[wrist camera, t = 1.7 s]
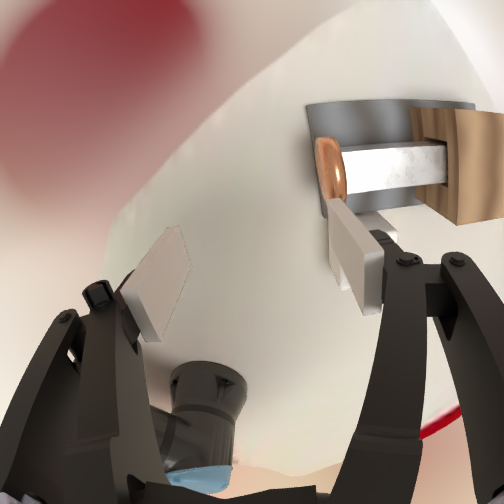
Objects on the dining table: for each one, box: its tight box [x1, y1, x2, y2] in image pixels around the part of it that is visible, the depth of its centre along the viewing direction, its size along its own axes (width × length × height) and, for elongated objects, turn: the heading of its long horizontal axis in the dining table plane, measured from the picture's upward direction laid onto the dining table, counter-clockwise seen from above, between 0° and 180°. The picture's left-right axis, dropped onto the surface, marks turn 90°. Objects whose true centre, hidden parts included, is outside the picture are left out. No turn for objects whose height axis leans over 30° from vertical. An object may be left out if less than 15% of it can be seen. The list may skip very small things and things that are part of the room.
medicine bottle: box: [328, 212, 398, 304], centre depth 32 cm, size 7×7×12 cm
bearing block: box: [306, 100, 504, 226], centre depth 27 cm, size 25×14×12 cm, turn 101°
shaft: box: [315, 136, 448, 205], centre depth 26 cm, size 18×7×7 cm, turn 101°
